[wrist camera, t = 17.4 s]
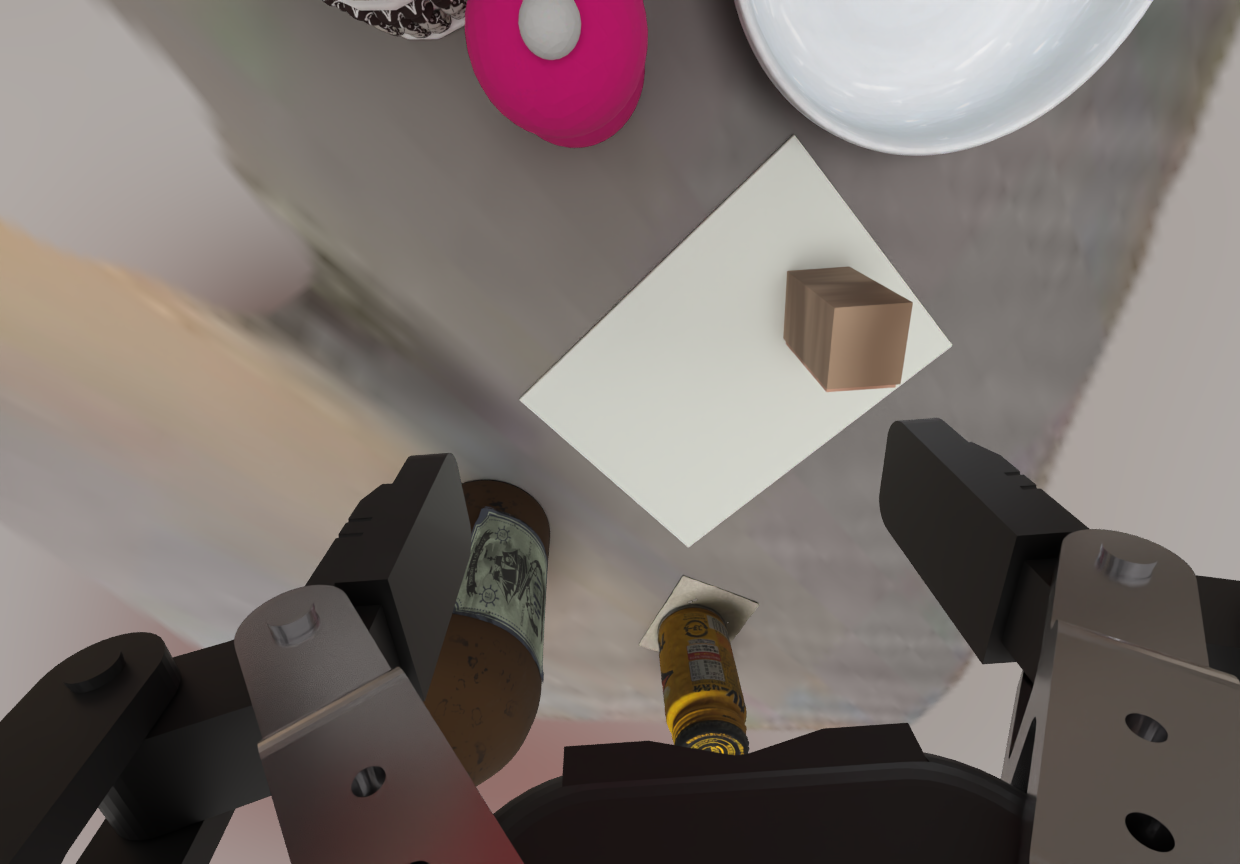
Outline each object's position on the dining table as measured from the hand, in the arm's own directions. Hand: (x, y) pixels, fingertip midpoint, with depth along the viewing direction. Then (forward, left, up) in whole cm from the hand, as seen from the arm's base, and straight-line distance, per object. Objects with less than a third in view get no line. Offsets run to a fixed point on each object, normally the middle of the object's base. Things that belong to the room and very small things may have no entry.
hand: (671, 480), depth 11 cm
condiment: (+28, -18, -30) cm, 45 cm away
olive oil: (+9, -23, -30) cm, 39 cm away
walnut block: (+12, +6, -30) cm, 33 cm away
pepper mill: (-8, +4, -30) cm, 32 cm away
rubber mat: (+12, -1, -30) cm, 32 cm away
